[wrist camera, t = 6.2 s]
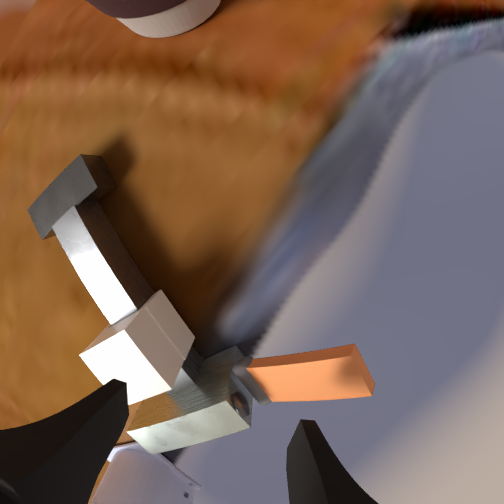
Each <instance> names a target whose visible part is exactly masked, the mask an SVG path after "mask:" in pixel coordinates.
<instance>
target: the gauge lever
mask: <svg viewBox="0 0 504 504" xmlns="http://www.w3.org/2000/svg"><path fill="white" fill-rule="evenodd" d="M232 371H233V372H234V373H235V375H236V376H237V377H238V378H239V380H240V381H241V382H242V383H243V385H244V386H245V387H246V388H247V390H248V391H249V392H250V393H251V394H252V396H253V397H254V398H255V399H256V400H257V402H258V403H259V404H261V405H266V404H269V403H270V402H274V401H277V402H279V401H280V402H282V401H318V400H335V399H346V398H347V399H348V398H358V397H368V396H372V394H373V390H374V386H375V383H374V381H373V379H372V377H371V375H370V373H369V371H368V369H367V367H366V365H365V363H364V361H363V358H362V357H361V354H360V353H359V351H358V349H357V347H356V345H355V344H351V345H346V346H340V347H334V348H329V349H323V350H317V351H310V352H304V353H297V354H290V355H282V356H274V357H266V358H257V359H253V358H252V357H251V356H247V357H244V358H242V359H240V360H239V361H237V362H236V363H235V364H234V366H233V368H232Z"/></svg>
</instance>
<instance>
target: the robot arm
mask: <svg viewBox="0 0 504 504" xmlns="http://www.w3.org/2000/svg"><path fill="white" fill-rule="evenodd" d="M128 416H129V408H128V395H127V383H126V382H123V381H120V380H117V379H115V378H113V379H112V380H110V381H109V382H107V383H106V384H104V385H103V386H101V387H100V388H99V389H97V390H96V391H94V392H93V393H91V394H90V395H88V396H86V397H85V398H83V399H82V400H80V401H79V402H77V403H75V404H73V405H72V406H70V407H68V408H66V409H64V410H62V411H61V412H59V413H57V414H54V415H52V416H50V417H48V418H45V419H43V420H40V421H37V422H34V423H31V424H27V425H24V426H20V427H16V428H11V429H5V430H0V504H88V501H89V498H90V495H91V493H92V490H93V487H94V485H95V482H96V480H97V477H98V475H99V473H100V471H101V469H102V467H103V465H104V464H105V462H106V460H108V461H110V464H109V466H108V468H107V470H106V472H105V474H104V476H103V478H102V480H101V482H100V484H99V486H98V488H97V491H96V493H95V495H94V497H93V499H92V501H91V503H90V504H192V503H193V498H194V494H195V491H197V490H201V485H199V484H198V483H197V482H195V481H194V480H192V479H191V478H190V477H189V476H187V475H186V474H185V473H183V472H182V471H181V470H180V469H178V468H177V467H176V466H175V465H174V464H172V463H171V462H170V461H169V460H168V459H166V458H165V457H164V456H163V455H162V454H161V453H156V454H150V453H149V452H148V451H147V450H145V449H144V448H143V447H142V446H141V445H140V444H139V443H138V442H133V443H128V444H123V445H118V446H115V444H116V443H117V441H118V439H119V437H120V435H121V434H122V431H123V429H124V426H125V424H126V421H127V419H128ZM286 465H287V466H286V470H287V481H288V491H289V500H290V501H289V502H290V504H378V503H377V502H376V501H375V500H373V499H372V498H371V497H370V496H369V495H368V494H367V493H366V492H365V491H364V490H363V489H362V488H361V487H360V486H359V485H358V484H357V483H356V482H355V481H354V480H353V478H352V477H351V476H350V474H349V473H348V472H347V471H346V470H345V468H344V467H343V465H342V464H341V463H340V461H339V460H338V458H337V457H336V455H335V454H334V452H333V450H332V449H331V447H330V446H329V444H328V442H327V441H326V439H325V437H324V436H323V434H322V432H321V430H320V428H319V427H318V425H317V423H316V422H315V421H314V420H302V419H301V420H300V422H299V424H298V426H297V428H296V431H295V433H294V435H293V437H292V439H291V441H290V443H289V446H288V448H287V464H286Z"/></svg>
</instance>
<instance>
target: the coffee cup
mask: <svg viewBox="0 0 504 504" xmlns="http://www.w3.org/2000/svg"><path fill="white" fill-rule="evenodd" d="M86 1H87V2H89V3H90V4H92V5H93V6H95V7H96V8H97V9H99V10H100V11H102V12H103V13H105V14H107V15H109V16H112V17H115V18H117V19H118V20H119V21H121V22H122V23H123V24H125V25H126V26H127V27H128V28H130V29H131V30H132V31H134V32H135V33H137V34H139V35H142V36H146V37H152V38H162V37H170V36H175V35H178V34H181V33H184V32H186V31H189V30H191V29H193V28H195V27H196V26H198V25H199V24H201V23H203V22H204V21H205V20H206V19H207V18H209V17H210V16H211V15H212V14H213V13H214V11H215V10H216V9H217V7H218V6H219V4H220V1H221V0H86Z"/></svg>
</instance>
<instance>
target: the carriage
mask: <svg viewBox="0 0 504 504" xmlns="http://www.w3.org/2000/svg"><path fill="white" fill-rule="evenodd" d="M194 339H195V336H194V335H193V334H192V332H191V331H190V330H189V328H188V327H187V325H186V324H185V323H184V321H183V320H182V319H181V317H180V316H179V314H178V313H177V312H176V310H175V309H174V307H173V306H172V304H171V303H170V301H169V300H168V299H167V297H166V296H165V294H164V293H163V291H162V290H159V291H157V292H156V293H154V294H153V295H152V296H151V297H150V299H149V300H148V301H147V302H146V303H145V304H144V305H143V306H142V307H141V308H140V309H139V310H138V311H136V312H134V313H133V314H131V315H129V316H128V317H126V318H124V319H123V320H121V321H119V322H118V323H116V324H114V325H113V326H112V324H111V323H110V324H109V325H108V326H107V327H106V328H105V329H104V330H103V331H102V332H101V333H100V334H99V335H98V336H97V337H96V338H95V340H94V341H93V342H92V343H91V344H90V345H89V346H88V347H87V348H86V349H85V350H84V351H83V352H82V353H81V354H80V356H81V358H82V359H83V360H84V362H85V363H86V364H87V366H88V367H89V368H90V369H91V371H92V372H93V373H94V374H95V375H96V377H97V378H98V379H99V380H100V381H101V383H102V384H103V385H104V384H106V383H107V382H109V381H110V380H112V379H113V378H115V379H117V380H120V381H123V382H126V383H127V395H128V405H130V404H133V403H136V402H139V401H141V400H144V399H147V398H150V397H152V396H155V395H158V394H161V393H163V392H166V391H168V390H171V389H172V388H173V385H174V383H175V381H176V378H177V376H178V374H179V371H180V369H181V367H182V364H183V362H184V360H186V357H187V355H188V353H189V350H190V348H191V346H192V343H193V341H194Z"/></svg>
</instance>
